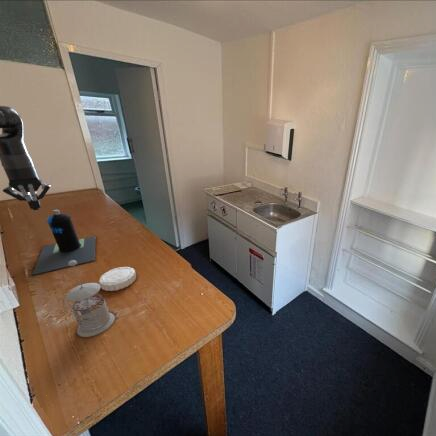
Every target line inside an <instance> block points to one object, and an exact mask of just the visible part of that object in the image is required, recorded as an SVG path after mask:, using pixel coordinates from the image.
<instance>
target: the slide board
mask: <svg viewBox="0 0 436 436" xmlns="http://www.w3.org/2000/svg"><path fill="white" fill-rule="evenodd" d="M78 239H79V242H80V244H81V247H80V248H78V249H76V250H74V251H70V252H60V251H59V247H58V245H57V243H53V244H47V245H43V246H42V248H41V251H40V253H39V256H38V259H37V262H36V264H35V267H34V269H33V272H32V276H36V275H41V274H42V275H43V274H45V273H49V272H55V271H57V270H62V269H63V270H64V269H67V268H70V267H72V266H68V262H69V261H71V260H75V261H76V262H77V264H76V265H74V267H75V266H79V265H83V264H88V263H91V262H95V261H96V236H89V237H84V238H78Z"/></svg>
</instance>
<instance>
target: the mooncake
mask: <svg viewBox="0 0 436 436" xmlns="http://www.w3.org/2000/svg"><path fill="white" fill-rule="evenodd" d="M136 279H137V273H136V269H134V267H131V266H120V267H114V268H112V269H110V270H108V271H106V272H104V273H103V274H102V275H101V276H100V278H99V280H98V284H99V285H100V289H101V290H103V291H105V292H113V291H115V292H116V291H119V290H123V289H124V288H127V287H129V286H130V285H132V284H133V283H134V282H135V281H136Z"/></svg>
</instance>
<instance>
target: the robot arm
mask: <svg viewBox="0 0 436 436" xmlns="http://www.w3.org/2000/svg"><path fill="white" fill-rule="evenodd" d="M0 129H1V134H0V164H1V167H2V168H3V170H4V172H5V175H6V177H7V179H8V186H7V187H5V188H3V189H2V192H3V193H4V194H6V195H8V196H11V197H12V198H14V199H16V200H18V201H20V202H27V204H28V206H29V208H30V209H31V210H33V211H39V210H40V209H41V207H42V204H41V202H40V200H41V199H43V198H44V197H45V196H46V194H47V193H48V191H49V190H50V188H51V187H52V186H51V184H49V183H44V182H43V181H42V179H40V178H39V176H38V173H37V171H36V167H35V165H34V162H33V159H32V158H31V156H30V154H29V152H28V150H27V147H26V145H25V142H24V123H23V119H22V117H21V115H20V114H19V113H18V111H16V110H15V109H14V108H12V107H10V106H8V105H7V106H6V105H0ZM40 187H41V189H42V191H41V192H40V193H39V194H38V191H39V189H40ZM15 190H16V191H15Z"/></svg>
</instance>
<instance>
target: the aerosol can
mask: <svg viewBox="0 0 436 436" xmlns="http://www.w3.org/2000/svg"><path fill="white" fill-rule="evenodd" d="M52 213H53V214H52V215H51V216H49V217H48V218H47V220H46V223H48V226H49V228H50V230H51V233H52V235H53V238H54V240H55V244H57V245H58V247H59V251H60V252H70V251H74V250H76V249H78V248H80V247H81V244H80V242H79V239H80V238H79V237H78V235H77V231H76V229H75V226H74V224H73V220H72V216H71V215H69V214H67V213H61V212H60V210H59V209H54V210H52Z"/></svg>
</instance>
